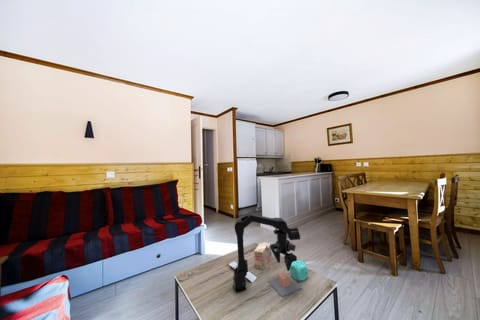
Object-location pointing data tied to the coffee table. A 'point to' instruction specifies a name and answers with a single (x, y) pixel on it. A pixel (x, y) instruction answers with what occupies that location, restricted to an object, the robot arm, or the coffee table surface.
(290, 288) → the slate mat
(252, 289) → the coffee table surface
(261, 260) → the stack of blocks
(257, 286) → the coffee table surface
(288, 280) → the terracotta cube
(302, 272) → the decorative dice
